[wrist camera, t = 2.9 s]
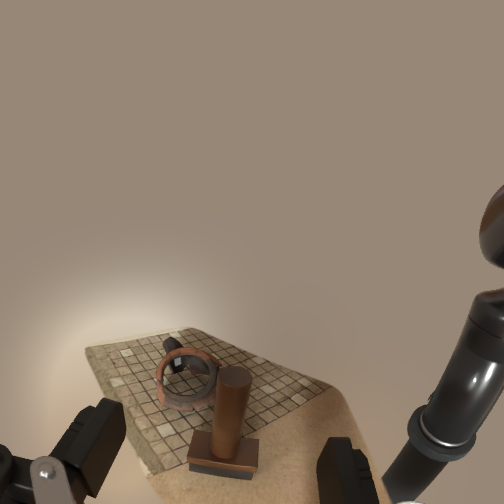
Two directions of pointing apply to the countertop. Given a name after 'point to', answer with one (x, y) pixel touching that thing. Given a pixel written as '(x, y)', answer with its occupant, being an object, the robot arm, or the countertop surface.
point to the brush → (226, 431)
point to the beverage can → (410, 502)
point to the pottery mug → (197, 364)
